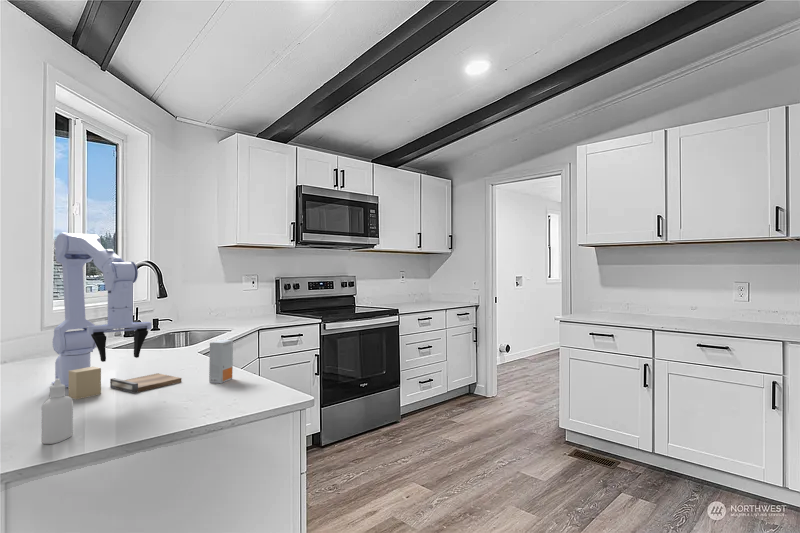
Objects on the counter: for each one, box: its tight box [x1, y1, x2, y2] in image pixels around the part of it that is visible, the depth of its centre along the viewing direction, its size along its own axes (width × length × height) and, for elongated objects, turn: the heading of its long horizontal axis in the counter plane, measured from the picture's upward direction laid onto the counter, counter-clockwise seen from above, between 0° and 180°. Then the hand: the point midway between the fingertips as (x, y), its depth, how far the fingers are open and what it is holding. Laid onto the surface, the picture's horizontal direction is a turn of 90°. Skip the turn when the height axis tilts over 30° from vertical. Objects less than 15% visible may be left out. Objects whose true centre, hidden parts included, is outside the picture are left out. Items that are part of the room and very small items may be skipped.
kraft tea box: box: [68, 366, 102, 400], centre depth 123 cm, size 4×6×7 cm, turn 149°
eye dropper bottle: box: [41, 378, 74, 445], centre depth 92 cm, size 4×6×12 cm
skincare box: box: [208, 339, 234, 384], centre depth 139 cm, size 6×4×12 cm
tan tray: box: [109, 373, 182, 394], centre depth 134 cm, size 12×14×2 cm
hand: (120, 359), depth 122 cm, fingers open, 7 cm apart
